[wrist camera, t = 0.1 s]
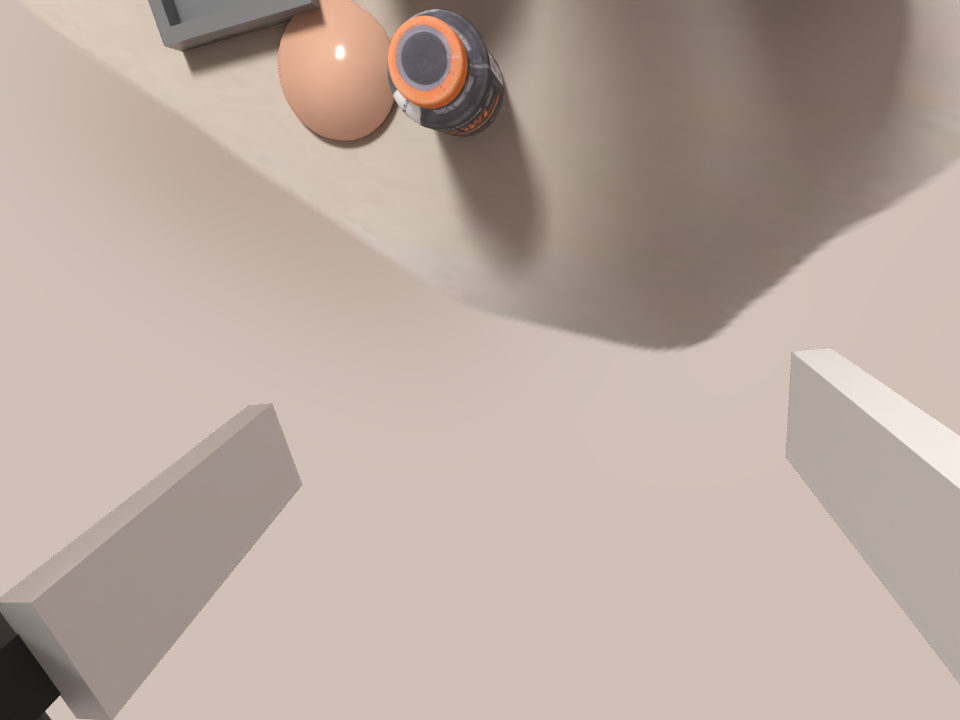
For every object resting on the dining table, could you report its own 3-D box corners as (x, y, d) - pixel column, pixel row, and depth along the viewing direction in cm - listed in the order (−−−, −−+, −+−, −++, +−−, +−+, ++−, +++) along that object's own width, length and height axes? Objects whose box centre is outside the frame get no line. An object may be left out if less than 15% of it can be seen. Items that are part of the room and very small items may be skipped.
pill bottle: (449, 152, 36) (405, 148, 26) (409, 74, 35) (344, 36, 24) (519, 108, 34) (501, 85, 24) (480, 24, 33) (443, -40, 22)
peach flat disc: (266, 18, 35) (261, 16, 34) (380, -16, 33) (377, -19, 32) (303, 151, 38) (299, 150, 37) (410, 127, 36) (407, 126, 35)
